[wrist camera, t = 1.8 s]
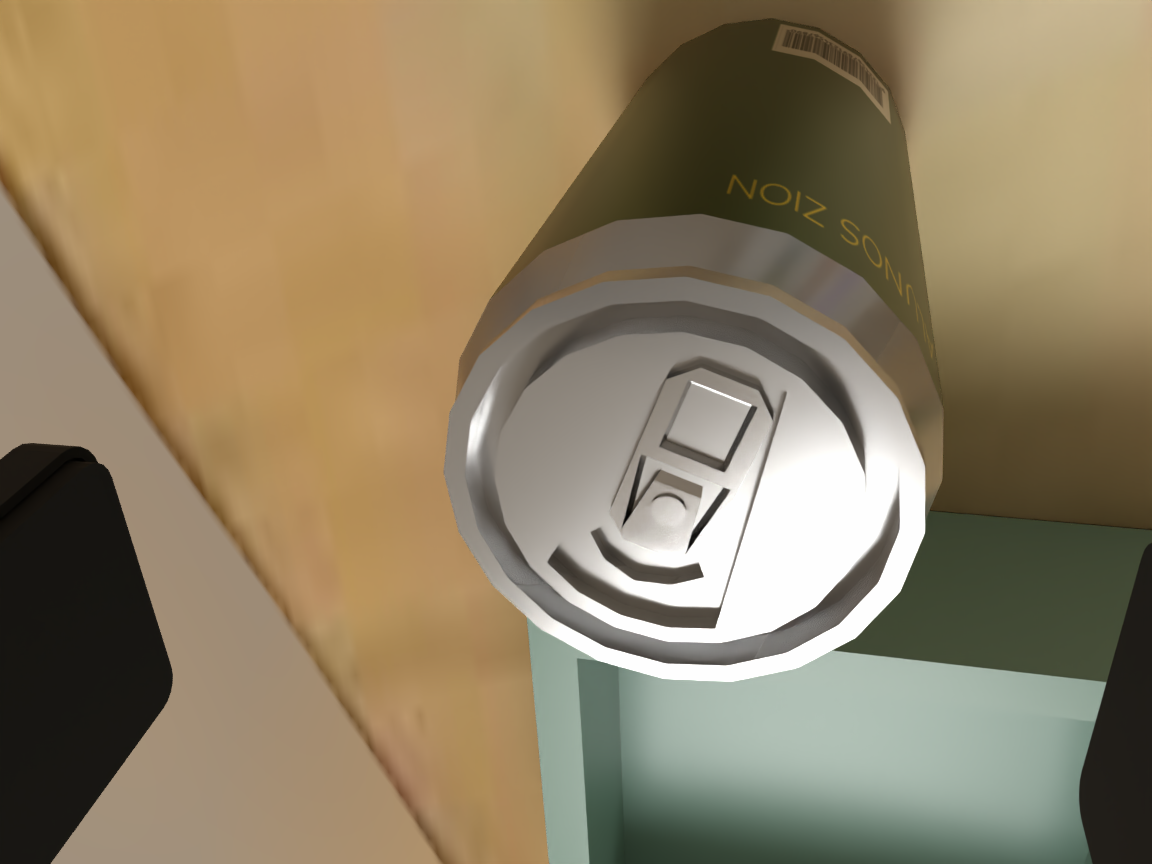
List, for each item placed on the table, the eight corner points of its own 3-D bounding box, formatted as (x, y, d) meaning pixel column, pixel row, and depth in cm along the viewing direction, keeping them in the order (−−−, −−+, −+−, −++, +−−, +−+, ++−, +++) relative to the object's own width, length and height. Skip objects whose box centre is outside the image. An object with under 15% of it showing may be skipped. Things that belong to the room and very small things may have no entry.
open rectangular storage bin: (1217, 535, 23) (1297, 704, 19) (1086, 937, 30) (1123, 1123, 26) (580, 480, 26) (526, 615, 22) (599, 857, 33) (562, 1013, 29)
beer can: (682, -34, 19) (496, 160, 9) (959, 73, 19) (1068, 387, 9) (592, 227, 22) (377, 587, 12) (830, 322, 22) (809, 761, 12)
